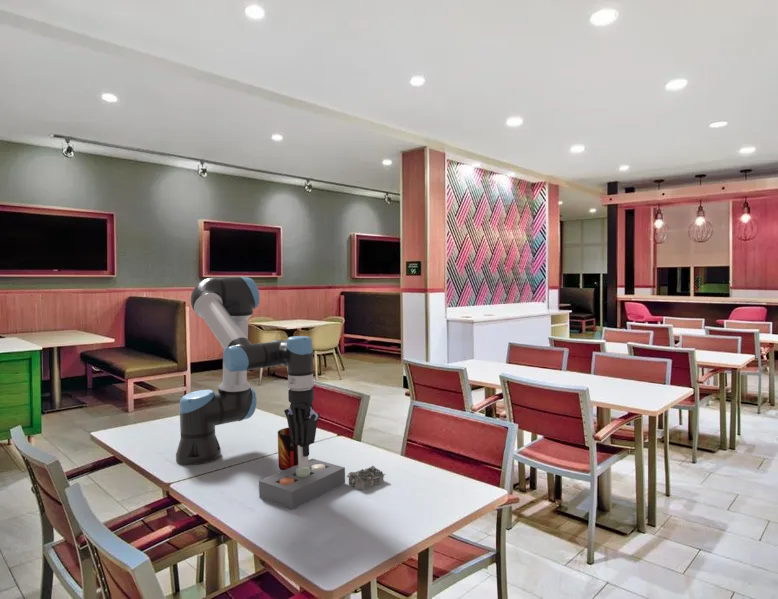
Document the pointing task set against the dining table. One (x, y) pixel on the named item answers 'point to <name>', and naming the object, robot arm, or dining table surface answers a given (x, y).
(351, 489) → the dining table surface
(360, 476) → the egg carton
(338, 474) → the console
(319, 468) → the cream button
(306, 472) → the sage button
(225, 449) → the dining table surface
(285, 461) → the mug
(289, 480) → the rust button
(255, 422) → the dining table surface
